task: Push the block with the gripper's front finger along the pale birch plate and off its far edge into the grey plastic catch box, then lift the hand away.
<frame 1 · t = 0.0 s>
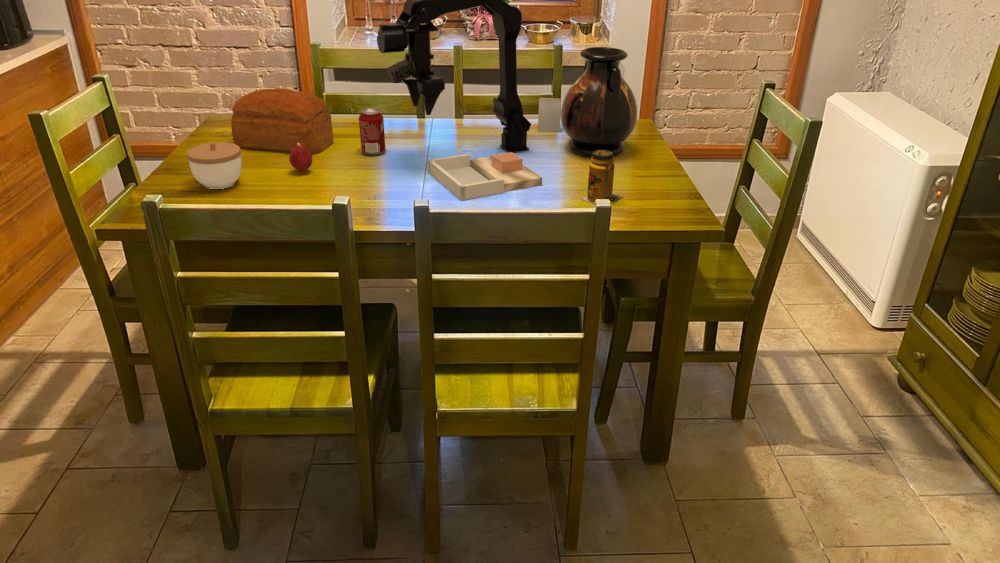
hand: (421, 110, 195), 15 cm above the table, fingers open, 9 cm apart
block: (506, 168, 194), point 2 cm above the table, touching far plate
tea bag: (548, 130, 229), on the table
soda can: (373, 153, 209), on the table
catch box: (465, 182, 190), on the table
amphora vase: (595, 150, 214), on the table
onion: (302, 172, 195), on the table
condiment: (601, 199, 182), on the table
bread: (285, 145, 214), on the table
lidded bowl: (220, 185, 186), on the table
far plate: (505, 175, 194), on the table
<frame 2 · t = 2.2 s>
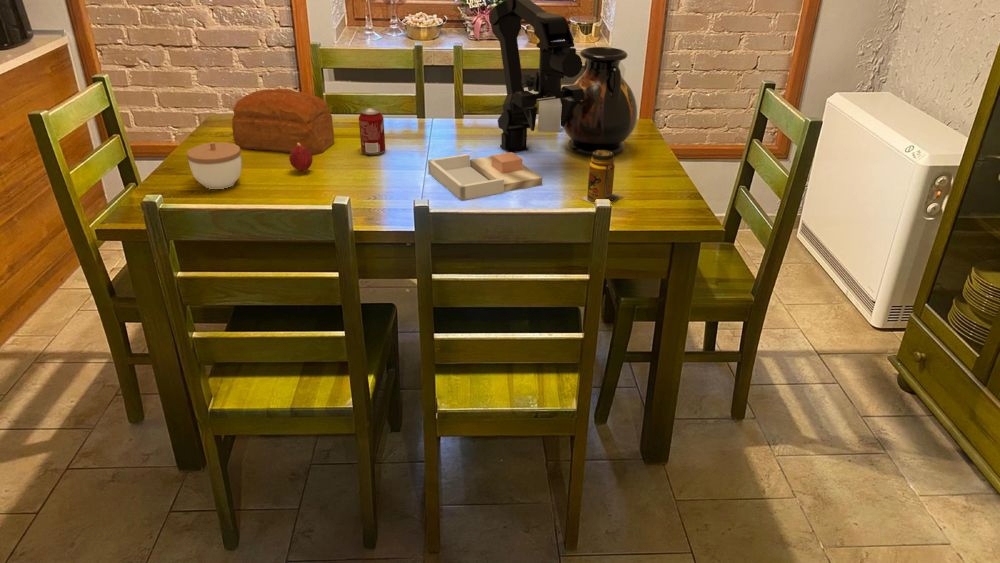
hand: (547, 128, 194), 11 cm above the table, fingers open, 9 cm apart
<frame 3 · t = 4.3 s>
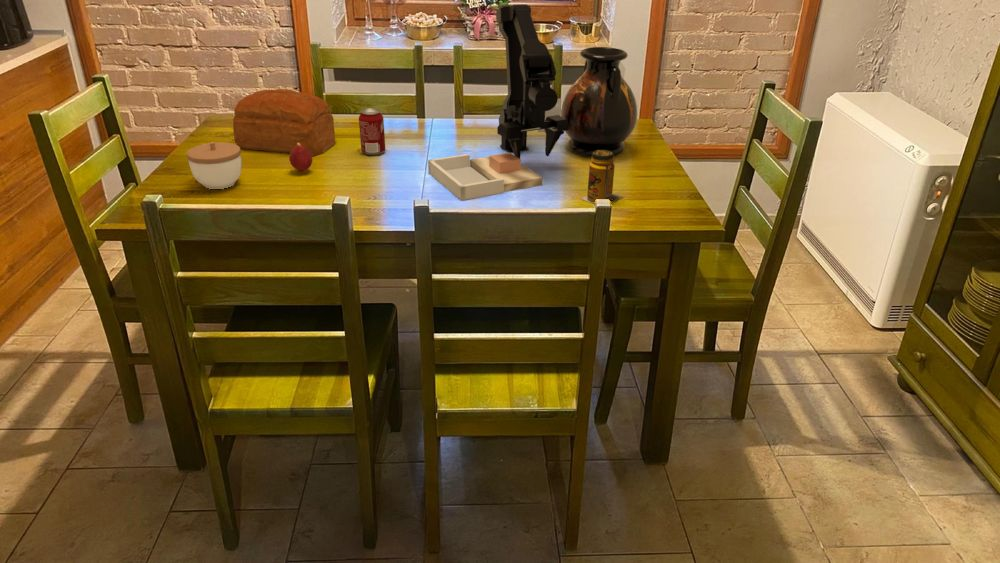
hand: (532, 158, 196), 4 cm above the table, fingers open, 9 cm apart
block: (504, 168, 193), point 2 cm above the table, touching gripper
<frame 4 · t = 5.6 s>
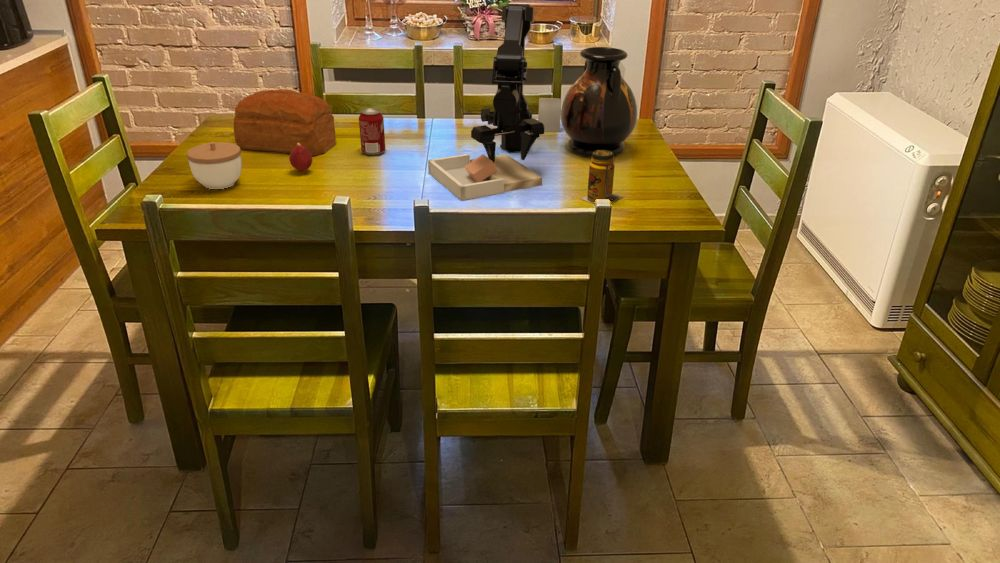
hand: (507, 162, 193), 4 cm above the table, fingers open, 9 cm apart
block: (483, 173, 191), point 2 cm above the table, tilted 27°, touching catch box, gripper
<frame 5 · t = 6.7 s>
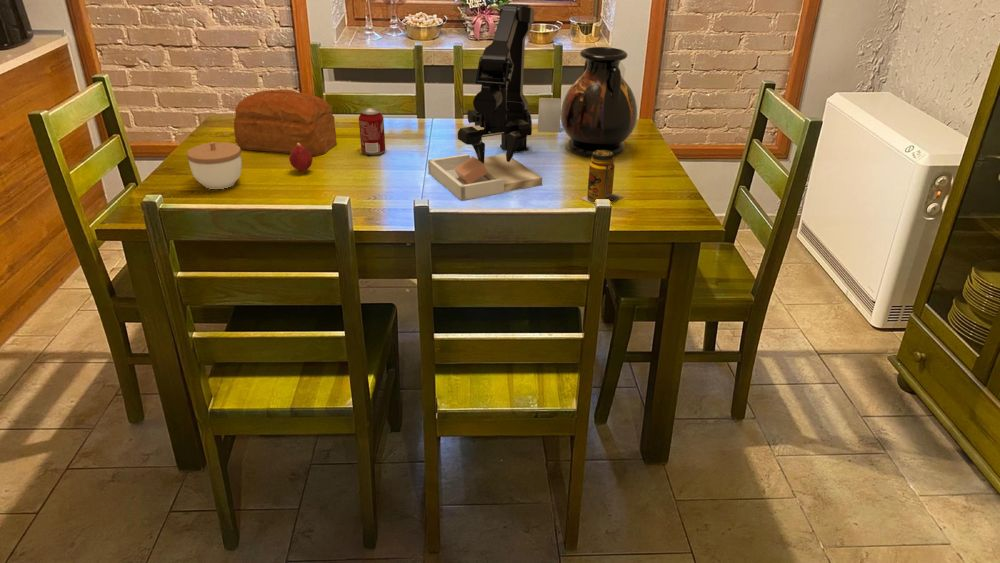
hand: (495, 163, 191), 4 cm above the table, fingers open, 7 cm apart
block: (473, 175, 190), point 2 cm above the table, tilted 25°, touching catch box, gripper
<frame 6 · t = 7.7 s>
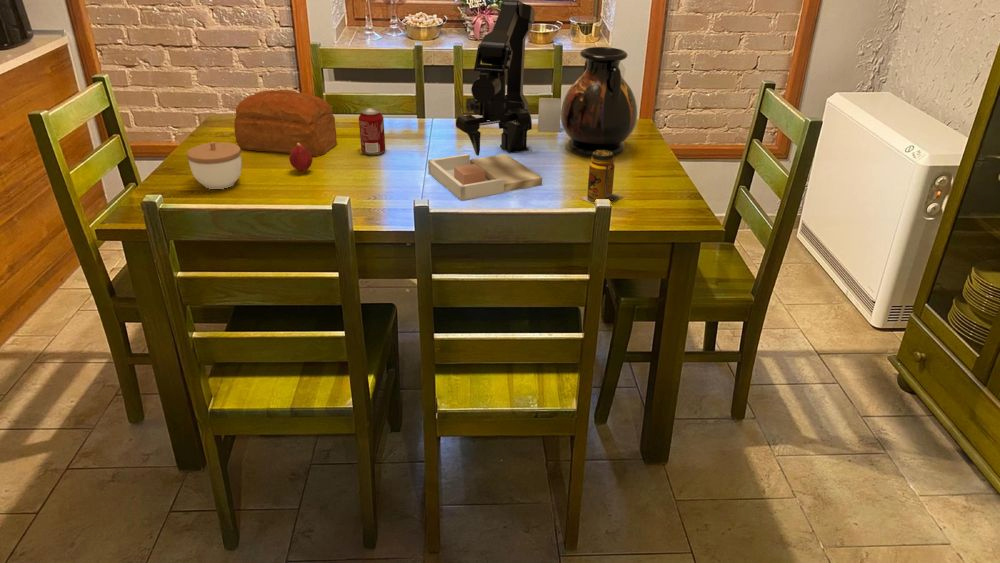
hand: (493, 152, 190), 7 cm above the table, fingers open, 9 cm apart
block: (469, 180, 190), resting on catch box
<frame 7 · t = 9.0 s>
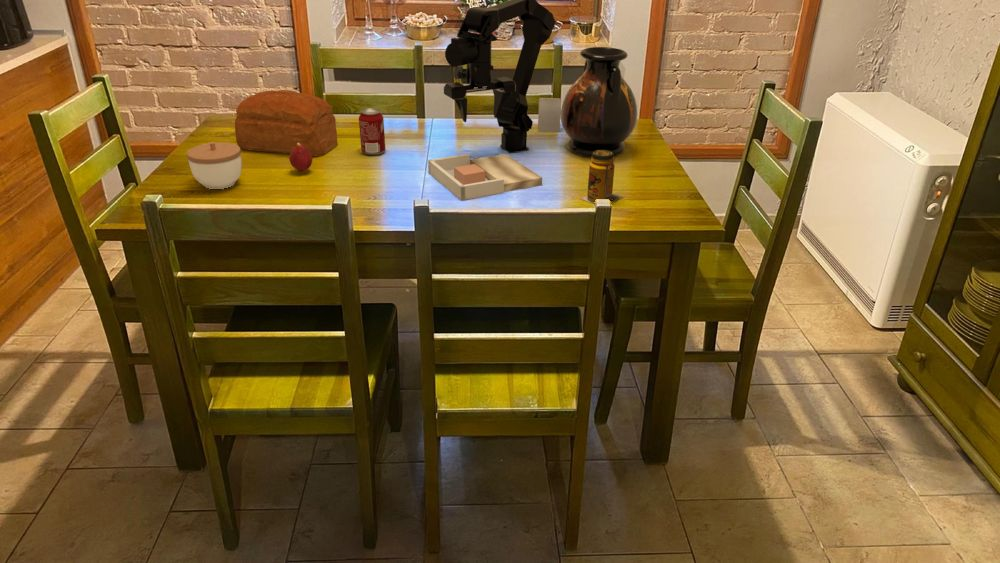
hand: (480, 119, 197), 12 cm above the table, fingers open, 9 cm apart
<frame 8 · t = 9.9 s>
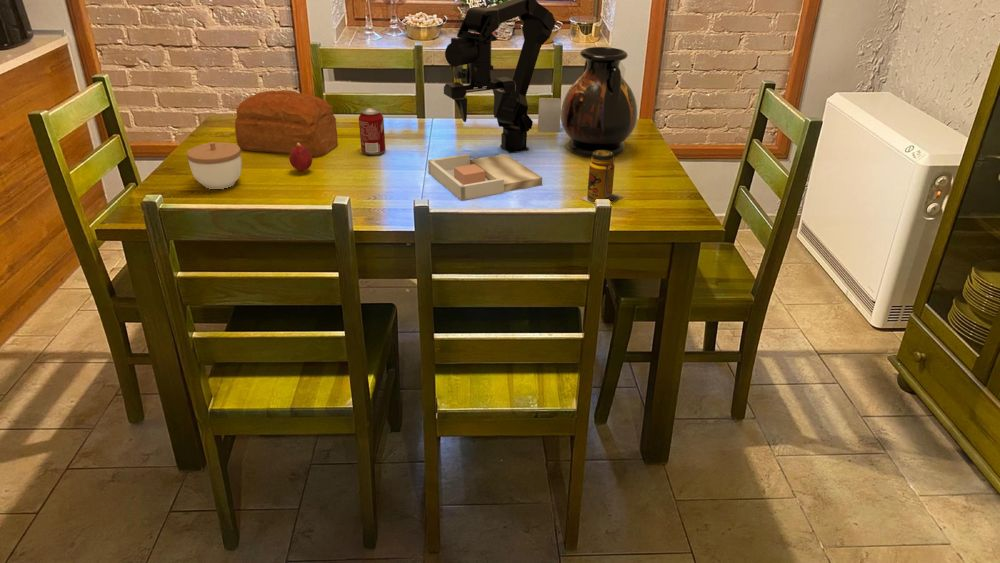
hand: (480, 119, 197), 12 cm above the table, fingers open, 9 cm apart
at the end: block inside the target area (1.0 cm from its centre), resting on catch box; block touching catch box; block moved 10.9 cm from its start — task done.
